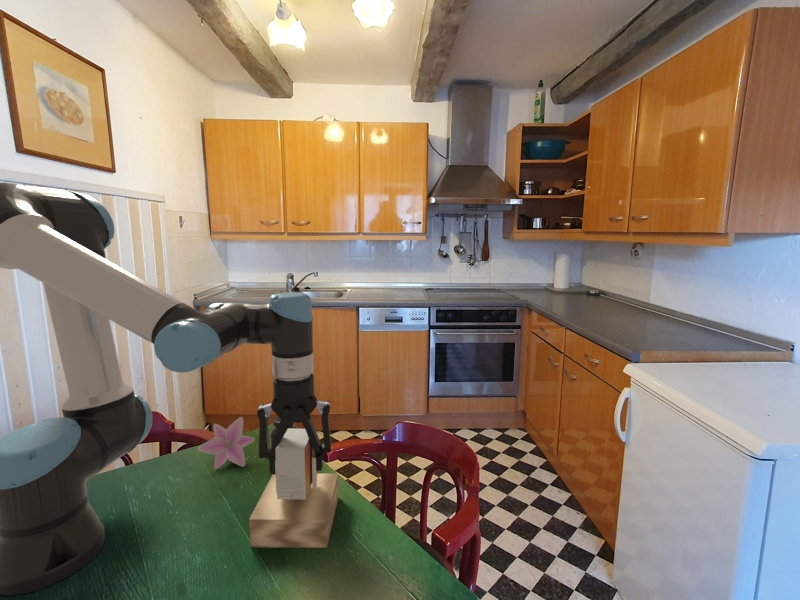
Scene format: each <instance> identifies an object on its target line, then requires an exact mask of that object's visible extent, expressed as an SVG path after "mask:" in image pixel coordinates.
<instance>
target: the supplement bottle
mask: <svg viewBox="0 0 800 600" xmlns="http://www.w3.org/2000/svg"><path fill="white" fill-rule="evenodd" d="M279 423H280V418H279V417H278V416H277V415H276V416H275V417H274V419H273V428H272V429H271V431H270V433H269V441H270V449H271V448H272V445H273V442H274V439H275V435H276V432H277V429H278V426H279ZM288 428H294V429H299V428H298V426H296V425H295V422H293V423H288V424H286V425H285V429H284V432H283V435H282V438H283V436H284V435H285V433H286V431H287V429H288ZM282 438H281V439H282Z"/></svg>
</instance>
